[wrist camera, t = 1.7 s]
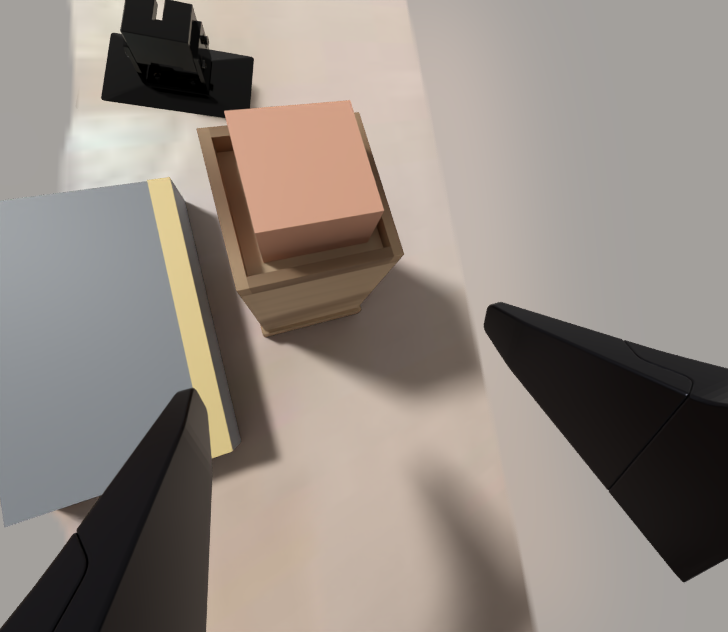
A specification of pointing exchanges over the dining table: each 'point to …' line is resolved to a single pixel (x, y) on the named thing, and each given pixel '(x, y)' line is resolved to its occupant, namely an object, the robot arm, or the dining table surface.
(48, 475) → the dock
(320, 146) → the block
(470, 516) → the dining table surface
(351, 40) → the dining table surface
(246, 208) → the open wooden bin
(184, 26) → the black slotted stand
